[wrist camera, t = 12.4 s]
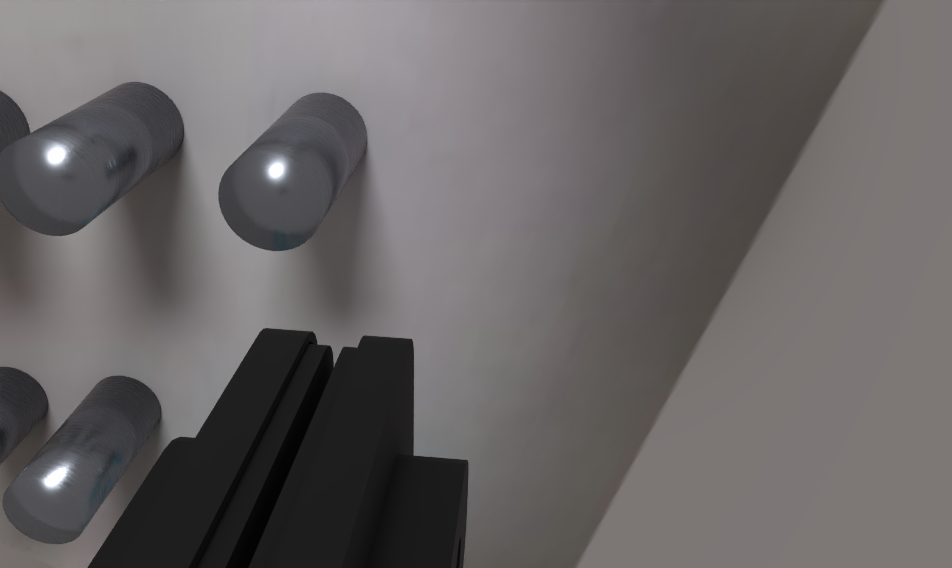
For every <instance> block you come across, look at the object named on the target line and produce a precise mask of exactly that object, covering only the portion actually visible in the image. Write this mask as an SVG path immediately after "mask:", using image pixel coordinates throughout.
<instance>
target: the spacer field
mask: <svg viewBox="0 0 952 568" xmlns="http://www.w3.org/2000/svg"><path fill="white" fill-rule="evenodd" d="M183 133H184V129H183V122H182V118H181V115H180V113H179V111H178V109H177V107H176V105H175V104H174V103H173V101H172V100H171V99H170V98H169V97H168V96H167V95H166V94H165V93H163V92H162V91H160V90H159V89H157V88H155V87H154V86H151V85H149V84H145V83H140V82H129V83H124V84H121V85H119V86H117V87H115V88H113V89H111V90H110V91H108V92H106V93H104V94H102V95H100V96H99V97H97V98H95V99H93V100H91V101H89V102H87V103H86V104H84V105H82V106H80V107H78V108H76V109H75V110H73V111H71V112H69V113H67V114H65V115H63V116H62V117H60V118H58V119H56V120H54V121H52V122H50V123H49V124H47V125H45V126H43V127H41V128H39V129H38V130H36V131H34V132H32V133H30V134H29V127H28V124H27V121H26V118H25V116H24V114H23V112H22V111H21V109H20V108H19V107H18V105H17V104H16V103H15V102H14V101H13V100H12V99H11V98H10V97H9V96H7V95H6V94H4V93H3V92H1V91H0V199H1V201H2V203H3V204H4V206H5V207H6V209H7V210H8V211H9V212H10V213H11V215H12V216H14V217H15V218H16V219H17V220H18V221H19V222H21V223H22V224H23V225H25V226H26V227H28V228H30V229H32V230H34V231H36V232H39V233H42V234H46V235H52V236H64V235H69V234H73V233H75V232H77V231H79V230H80V229H82V228H83V227H85V226H86V225H87V224H88V223H90V222H91V221H92V220H93V219H95V218H96V217H97V216H98V215H100V214H101V213H102V212H103V211H105V210H106V209H107V208H108V207H110V206H111V205H112V204H113V203H115V202H116V201H117V200H118V199H120V198H121V197H122V196H123V195H125V194H126V193H127V192H128V191H130V190H131V189H132V188H133V187H135V186H136V185H137V184H138V183H140V182H141V181H142V180H143V179H145V178H146V177H147V176H148V175H150V174H151V173H152V172H153V171H155V170H156V169H157V168H158V167H159V166H161V165H162V164H163V163H164V162H166V161H167V160H168V159H169V158H171V157H172V156H173V155H174V154H175V153H176V152H177V151H178V149H179V147H180V146H181V143H182V140H183ZM366 144H367V132H366V127H365V124H364V121H363V119H362V117H361V116H360V114H359V113H358V111H357V110H356V109H355V108H354V107H353V106H352V105H351V104H350V103H349V102H347V101H346V100H344V99H343V98H341V97H339V96H336V95H333V94H329V93H314V94H310V95H307V96H304V97H302V98H301V99H299V100H298V101H297V102H295V103H294V104H293V105H292V106H291V107H290V108H289V109H288V110H287V111H286V112H285V113H284V114H283V115H282V116H281V117H280V118H279V119H278V120H277V121H276V122H275V123H274V124H273V125H272V126H271V127H270V128H269V129H267V130H266V131H265V132H264V133H263V134H262V135H261V136H260V137H259V138H258V139H257V140H256V141H255V142H254V143H253V144H252V145H251V146H250V147H249V148H248V149H247V150H246V151H245V152H244V153H243V154H242V155H241V156H240V157H239V158H238V159H237V160H236V161H235V162H234V163H233V164H232V165H230V167H229V168H228V169H227V170H226V172H225V173H224V175H223V177H222V179H221V182H220V186H219V193H218V194H219V204H220V208H221V212H222V214H223V216H224V219H225V220H226V222H227V224H228V225H229V226H230V228H231V229H232V230H233V231H234V232H235V233H236V234H237V235H238V236H239V237H240V238H242V239H243V240H244V241H246V242H248V243H249V244H251V245H253V246H256V247H258V248H261V249H265V250H271V251H283V250H289V249H293V248H295V247H298V246H300V245H301V244H303V243H305V242H306V241H307V240H308V239H309V238H310V237H311V236H312V235H313V234H314V232H315V231H316V229H317V228H318V226H319V225H320V223H321V221H322V220H323V218H324V217H325V215H326V213H327V212H328V210H329V209H330V207H331V205H332V204H333V202H334V201H335V199H336V198H337V196H338V194H339V193H340V191H341V190H342V188H343V186H344V185H345V183H346V182H347V180H348V178H349V177H350V175H351V174H352V172H353V170H354V169H355V167H356V166H357V164H358V163H359V161H360V159H361V158H362V156H363V154H364V152H365V149H366ZM47 408H48V401H47V397H46V394H45V392H44V390H43V389H42V387H41V386H40V384H39V383H38V382H37V381H36V380H35V379H33V378H32V377H31V376H29V375H28V374H26V373H25V372H22V371H20V370H18V369H14V368H10V367H0V465H1V464H2V462H3V461H4V460H5V459H6V458H7V457H8V456H9V455H10V454H11V452H12V451H13V450H14V449H15V448H16V447H17V446H18V445H19V444H20V443H21V441H22V440H23V439H24V438H25V437H26V436H27V435H28V434H29V433H30V431H31V430H32V429H33V428H34V427H35V426H36V425H37V424H38V423H39V421H40V420H41V419H42V418H43V417H44V416H45V414H46V412H47ZM160 416H161V407H160V404H159V401H158V399H157V397H156V396H155V394H154V393H153V392H152V391H151V390H150V389H149V388H148V387H147V386H146V385H144V384H143V383H141V382H140V381H138V380H135V379H133V378H130V377H126V376H111V377H107V378H105V379H103V380H101V381H100V382H99V383H98V384H97V385H96V386H95V387H94V388H93V389H92V391H91V392H90V393H89V394H88V395H87V396H86V398H85V399H84V400H83V401H82V402H81V403H80V405H79V406H78V407H77V408H76V409H75V410H74V412H73V413H72V414H71V415H70V416H69V417H68V419H67V420H66V421H65V422H64V423H63V424H62V426H61V427H60V428H59V429H58V430H57V431H56V433H55V434H54V435H53V436H52V437H51V438H50V440H49V441H48V442H47V443H46V444H45V445H44V447H43V448H42V449H41V450H40V451H39V452H38V454H37V455H36V456H35V457H34V458H33V459H32V461H31V462H30V463H29V464H28V465H27V466H26V468H25V469H24V470H23V471H22V472H21V473H20V475H19V476H18V477H17V478H16V479H15V480H14V482H13V483H12V484H11V485H10V486H9V487H8V489H7V490H6V491H5V493H4V496H3V508H4V511H5V514H6V516H7V518H8V519H9V521H10V522H11V523H12V524H13V525H14V526H15V527H16V528H17V529H18V530H19V531H20V532H22V533H23V534H25V535H26V536H28V537H30V538H32V539H34V540H37V541H40V542H44V543H49V544H63V543H68V542H71V541H73V540H75V539H76V538H78V537H79V536H80V535H81V533H82V532H83V530H84V529H85V527H86V526H87V525H88V523H89V522H90V520H91V519H92V517H93V516H94V514H95V513H96V512H97V510H98V509H99V507H100V506H101V504H102V503H103V501H104V500H105V499H106V497H107V496H108V494H109V493H110V491H111V490H112V488H113V487H114V486H115V484H116V483H117V481H118V480H119V478H120V477H121V475H122V474H123V473H124V471H125V470H126V468H127V467H128V465H129V464H130V463H131V461H132V460H133V458H134V457H135V455H136V454H137V452H138V451H139V450H140V448H141V447H142V445H143V444H144V442H145V441H146V439H147V438H148V437H149V435H150V434H151V432H152V431H153V429H154V428H155V426H156V425H157V424H158V422H159V420H160Z"/></svg>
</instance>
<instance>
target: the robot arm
mask: <svg viewBox="0 0 952 568" xmlns="http://www.w3.org/2000/svg"><path fill="white" fill-rule="evenodd" d="M413 445H414V347H413V341H412V339H404V338H391V337H377V336H363V337H362V339H361V340H360V343H359V345H358V348H354V347H343V349H342V350H341V352H340V355H339V357H338V359H337V362H336V364H335V366H334V362H333V352H332V348H331V347H330V346H327V345H317V339H316V336H315V334H314V333H313V332H309V331H296V330H282V329H269V328H266V329H263V330H262V331H261V332H260V333H259V335H258V336H257V338H256V339H255V341H254V343H253V344H252V346H251V348H250V349H249V351H248V353H247V354H246V356H245V357H244V359H243V361H242V362H241V364H240V366H239V367H238V369H237V371H236V372H235V374H234V375H233V377H232V379H231V380H230V382H229V384H228V385H227V387H226V388H225V390H224V392H223V393H222V395H221V397H220V398H219V400H218V402H217V403H216V405H215V406H214V408H213V410H212V411H211V413H210V415H209V416H208V418H207V420H206V421H205V423H204V424H203V426H202V428H201V429H200V431H199V433H198V434H197V436H196V438H189V437H178V438H176V439H174V440H172V441H171V442H170V444H169V445H168V446H167V447H166V448H165V450H164V451H163V453H162V454H161V456H160V457H159V459H158V460H157V462H156V463H155V465H154V466H153V468H152V470H151V471H150V473H149V474H148V476H147V477H146V479H145V480H144V482H143V483H142V485H141V486H140V488H139V489H138V491H137V493H136V494H135V496H134V497H133V499H132V500H131V502H130V503H129V505H128V506H127V508H126V509H125V511H124V513H123V514H122V516H121V517H120V519H119V520H118V522H117V523H116V525H115V526H114V528H113V529H112V531H111V532H110V534H109V536H108V537H107V539H106V540H105V542H104V543H103V545H102V546H101V548H100V549H99V551H98V552H97V554H96V555H95V557H94V559H93V560H92V562H91V563H90V565H89V566H88V568H463V560H464V548H465V535H466V518H467V496H468V460H459V459H447V458H435V457H423V456H413Z"/></svg>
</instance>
